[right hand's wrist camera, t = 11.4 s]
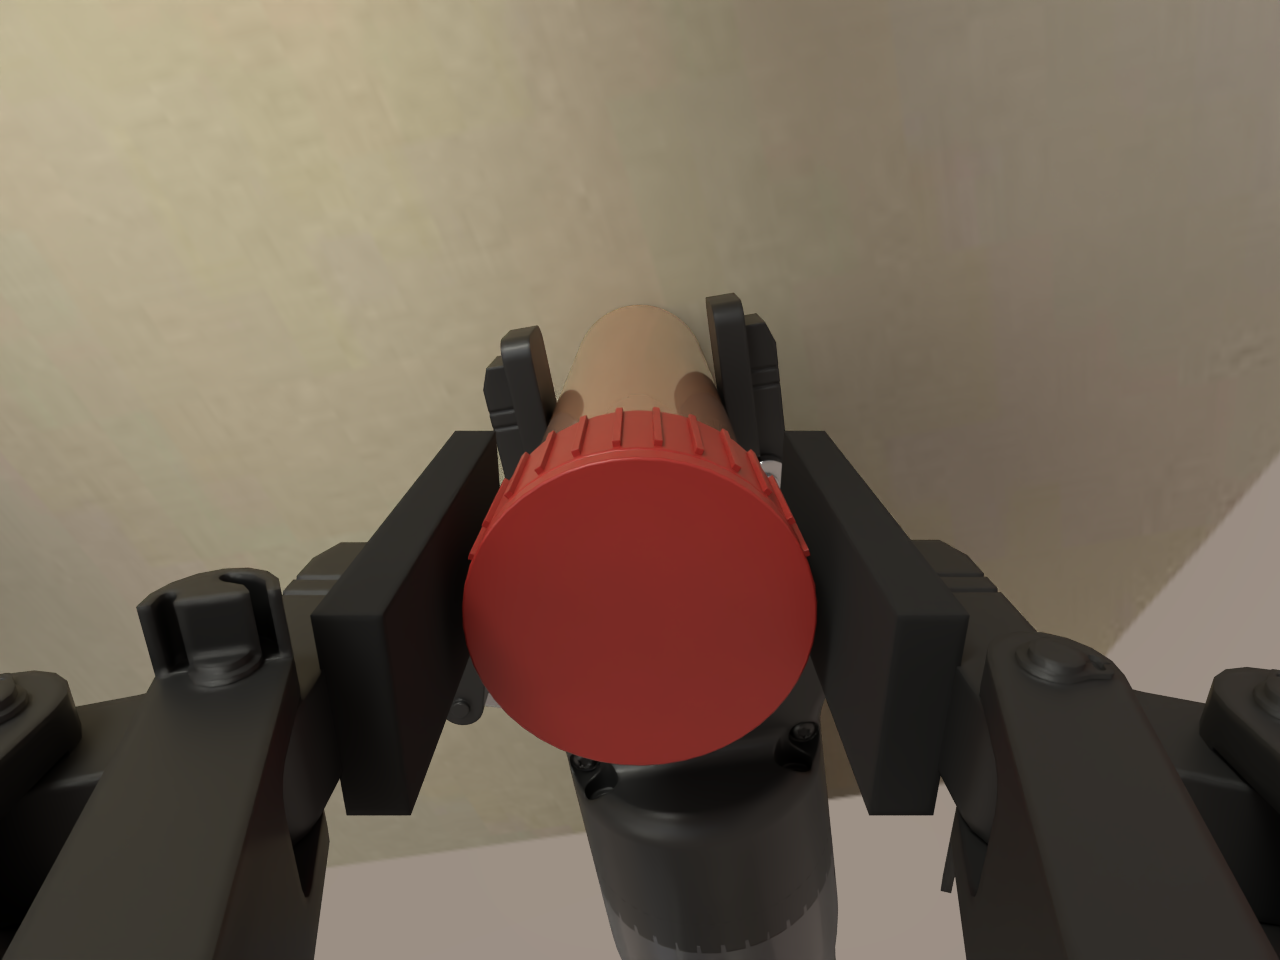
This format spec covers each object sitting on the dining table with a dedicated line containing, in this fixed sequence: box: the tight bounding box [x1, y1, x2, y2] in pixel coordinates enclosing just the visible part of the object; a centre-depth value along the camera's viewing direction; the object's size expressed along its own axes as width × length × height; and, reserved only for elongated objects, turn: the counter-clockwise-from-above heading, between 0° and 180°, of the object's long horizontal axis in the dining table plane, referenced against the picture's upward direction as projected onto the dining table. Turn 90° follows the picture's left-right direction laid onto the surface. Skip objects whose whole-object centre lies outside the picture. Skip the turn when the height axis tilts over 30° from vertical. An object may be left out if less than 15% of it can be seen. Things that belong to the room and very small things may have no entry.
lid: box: [462, 407, 817, 766], centre depth 11 cm, size 5×5×2 cm
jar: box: [540, 305, 739, 445], centre depth 18 cm, size 4×4×16 cm
